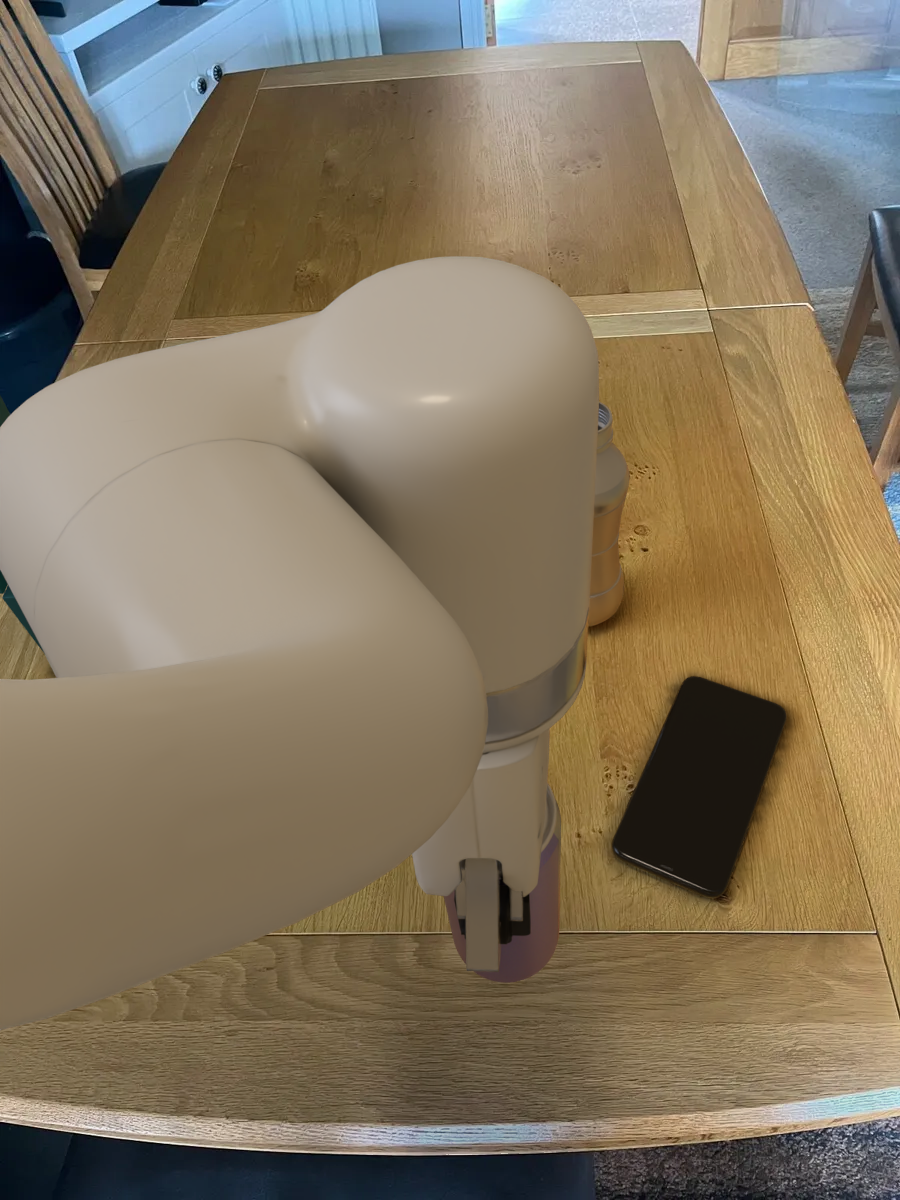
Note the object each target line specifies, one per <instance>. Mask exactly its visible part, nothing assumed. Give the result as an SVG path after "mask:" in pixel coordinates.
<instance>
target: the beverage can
mask: <svg viewBox="0 0 900 1200" xmlns="http://www.w3.org/2000/svg"><path fill="white" fill-rule="evenodd" d="M561 816H562V815H561V811H560V807H559V804H558V801H557V799H556V797H555V794H554V791H553V789H552V788H551V786H550V784H549V782H548V781H547V795H546V807H545V818H544V829H543V839H542V848H541V857H540V867H539V875H538V883H537V885H536V887H535V888H534V889H533V890H532V891H531V892H530V893H529V896H530V917H531V933H530V935H527V936H513V937H512V941H511V942H510V943H507V944H501V957H500V966H499V972H480V971H472V972H473V973H475V974H476V975H478V976H480V977H481V978H483V979H486V980H489V981H491V982H496V983H503V984H509V983H510V984H511V983H517V982H520V981H525V980H527V979H529V978H531V977H533V976H535V975H536V974H537V973H539V972H540V971H542V969H544V968H545V967H546V966H547V964H548V963H549V962H550V960H551V959H552V958H553V956H554V954H555V952H556V949H557V948H558V947H557V946H558V943H559V938H560V919H561V918H560V917H561V916H560V914H561V912H560V911H561V903H560V902H561V864H562V863H561V861H562V859H561V858H562V857H561V854H562V853H561V852H562V817H561ZM499 885H506V884H505V883H504V882H503V880H499ZM454 894H455V890H454V891H453V892H452V893H451V894H450V895H449V896H443V900H444V904H445V909H446V912H447V913H446V914H447V917H448V922H449V926H450V931H451V935H452V939H453V943H454V946H455V950H456V951H457V954H458V956H459V957H460V959H461V960H462V962H463V963H464V965H466V939H465V937H464V935H461V931H460V926H459V921H458V918H457V912H456V907H455V902H454Z"/></svg>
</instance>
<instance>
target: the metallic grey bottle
mask: <svg viewBox="0 0 900 1200" xmlns="http://www.w3.org/2000/svg"><path fill="white" fill-rule="evenodd" d="M613 439H614V429H613V413H612V411H611V409H610V408H609V407H608V406H607V405H606V404H605V403H603V402H601V401H599V414H598V434H597V455H596V476H595V496H594V517H593V537H592V558H591V579H590V600H589V619H588V628H589V627H594V626H597V625H601V624H602V623H604V622H606V621H608V620H609V619H611V618H612V617H613V616H614V615H615V614H616V613H617V612H618V610H619V608H620V606H621V603H622V601H623V597H624V594H625V579H624V573H623V568H622V566H621V560H620V559H621V558H620V551H619V550H620V548H619V547H620V546H619V538H620V528H621V521H622V514H623V510H624V506H625V504H626V503H625V502H626V499H627V494H628V491H629V487H630V479H631V474H630V469H629V466H628V464H627V461H626V458H625V456H624V454H623V453H622V452H621V450H620V449H619V448H618V446H617V445H616V444H615V443H614V442H613Z"/></svg>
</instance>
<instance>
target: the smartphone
mask: <svg viewBox="0 0 900 1200" xmlns="http://www.w3.org/2000/svg"><path fill="white" fill-rule="evenodd" d="M787 716H788V714H787V712H786V710H785V708H784V707H783V706H782V705H780V704H778V703H777V702H773V701H771V700H769V699H765V698H762V697H759V696H756V695H753V694H751V693H749V692H746V691H742V690H740V689H736V688H734V687H731V686H728V685H724V684H722V683H719V682H716V681H714V680H710V679H707V678H705V677H703V676H697V675H691V676H688V677H686V678H685V679H684V680H683V681H682V682H681V684H680V686H679V689H678V690H677V692H676V695H675V697H674V699H673V702H672V704H671V706H670V709H669V711H668V713H667V715H666V717H665V720H664V722H663V725H662V727H661V729H660V731H659V733H658V736H657V738H656V740H655V742H654V744H653V747H652V750H651V751H650V754H649V755H648V758H647V760H646V763H645V765H644V767H643V770H642V772H641V774H640V776H639V778H638V780H637V784H636V786H635V787H634V789H633V790H632V793H631V795H630V797H629V799H628V802H627V805H626V808H625V810H624V813H623V814H622V818H621V819H620V822H619V823H618V826H617V828H616V830H615V833H614V835H613V838H612V841H611V851H612V853H613V854H614V856H615V857H616V858H617V859H618V860H620V861H621V862H624V863H626V864H628V865H630V866H633V867H635V868H637V869H639V870H642V871H644V872H647V873H649V874H651V875H654V876H656V877H658V878H660V879H663V880H664V881H667V882H669V883H671V884H674V885H676V886H679V887H681V888H684V889H685V890H688V891H690V892H693V893H695V894H697V895H700V896H702V897H704V898H708V899H718V898H720V897H722V896H723V895H724V894H725V892H726V891H727V889H728V887H729V884H730V882H731V878H732V876H733V873H734V872H735V869H736V864H737V863H738V859H739V857H740V855H741V852H742V849H743V847H744V842H745V841H746V838H747V836H748V832H749V830H750V825H751V823H752V819H753V817H754V814H755V811H756V808H757V806H758V803H759V800H760V797H761V794H762V791H763V789H764V786H765V783H766V780H767V778H768V775H769V772H770V769H771V766H772V763H773V760H774V758H775V755H776V752H777V749H778V747H779V743H780V741H781V738H782V735H783V732H784V730H785V728H786V724H787V720H788V717H787Z"/></svg>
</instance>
